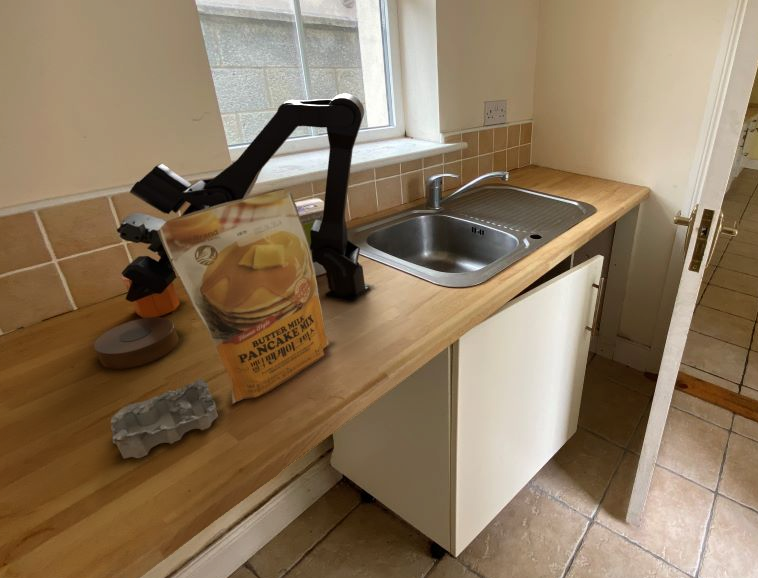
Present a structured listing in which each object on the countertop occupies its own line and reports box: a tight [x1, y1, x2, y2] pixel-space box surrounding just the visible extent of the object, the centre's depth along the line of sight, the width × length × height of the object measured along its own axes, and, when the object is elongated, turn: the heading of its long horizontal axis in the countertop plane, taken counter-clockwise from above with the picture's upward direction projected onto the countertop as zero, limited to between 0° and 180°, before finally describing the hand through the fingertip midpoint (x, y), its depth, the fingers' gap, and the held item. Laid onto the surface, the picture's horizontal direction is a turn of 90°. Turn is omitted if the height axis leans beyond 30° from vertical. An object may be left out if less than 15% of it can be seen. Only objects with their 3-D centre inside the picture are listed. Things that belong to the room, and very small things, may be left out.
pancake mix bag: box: [157, 187, 330, 404], centre depth 65 cm, size 7×19×28 cm, turn 152°
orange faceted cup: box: [121, 275, 181, 319], centre depth 83 cm, size 6×6×8 cm
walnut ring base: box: [93, 316, 180, 370], centre depth 73 cm, size 10×10×3 cm
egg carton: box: [110, 377, 219, 460], centre depth 59 cm, size 11×8×4 cm
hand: (142, 287), depth 82 cm, fingers open, 9 cm apart
